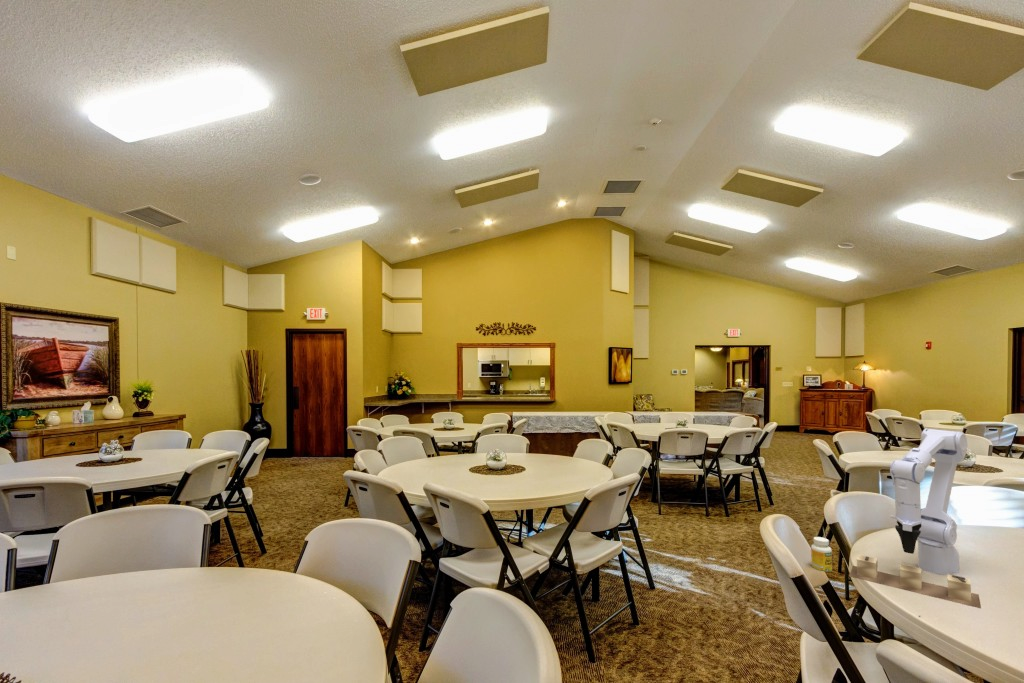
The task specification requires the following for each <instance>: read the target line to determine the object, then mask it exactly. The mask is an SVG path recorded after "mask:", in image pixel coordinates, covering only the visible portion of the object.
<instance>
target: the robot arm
mask: <svg viewBox="0 0 1024 683" xmlns="http://www.w3.org/2000/svg"><path fill="white" fill-rule="evenodd" d="M967 438H968V437H967V435H966V434H965V433H964V432H963V431H955V430H954V431H952V430H944V429H935V428H934V429H933V428H927V427H925V428H924V429H923V430H922V432H921V434H920V440H921V441H920V442H921V443H920V444H919V446H918V447H913V448H910V450H909V451H908V452H907V453H906V454H905V455H904V456H903V457H902V458H901V459H896V460H893V461H892V462H891V465H890V469H889V473H890V476H891V479H892V481H891V482H892V485H894V497H895V498H894V500H895V501H894V503H895V505H894V506H895V514H892V513H891V514H890V518H891V519H895V520H896V523H897V525H896V524H895V526H894V527H895V528H894V529H895V530H896V532H897V535H898V536H899V539H900V542H901V546H902V549H903V552H904V553H906V554H907V553H908V554H912V555H913V554H914V553H915V550H916V545H917V555H918V556H917V560H918V564H917V565H918V568H921V571H925V572H927V573H930V574H934V575H942V576H945V575H946V576H947V574H949V575H952V574H960V555H959V552H958V549H957V548H956V546H954V545H955V544H956V542H957V537H958V534H957V529H958V525H957V523H956V521H955V520H954V519H953V518H952V517H951V516H950V515H948V514H947V513H948V508H949V504H950V503H949V502H950V499H951V494H952V488H953V484H954V479H955V474H956V469H957V465H958V463H961V462H963V461H964V460H965V458H966V454H967V449H968V439H967ZM933 460H934V461H935V463H934V468H933V472H932V478H931V483H930V487H929V491H928V495H927V501H926V506H925V507H924V508H921V507H922V506H921V504H922V503H921V483H922V482H923V480H924V478H925V474H926V470H927V468H928V467H929V466H930V465H931V464H932V462H933ZM916 543H917V544H916Z"/></svg>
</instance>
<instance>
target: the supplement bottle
mask: <svg viewBox="0 0 1024 683" xmlns="http://www.w3.org/2000/svg"><path fill="white" fill-rule="evenodd" d="M829 545H830V540H829V539H827V538H826V537H823V536H822V537H821V536H814V537H813V543H812V544H811V548H810V549H811V550H810V552H811V553H810V554H811V567H812V568H813V569H815V570H817V571H821V572H832V571H833V550H832V547H830V546H829Z"/></svg>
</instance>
